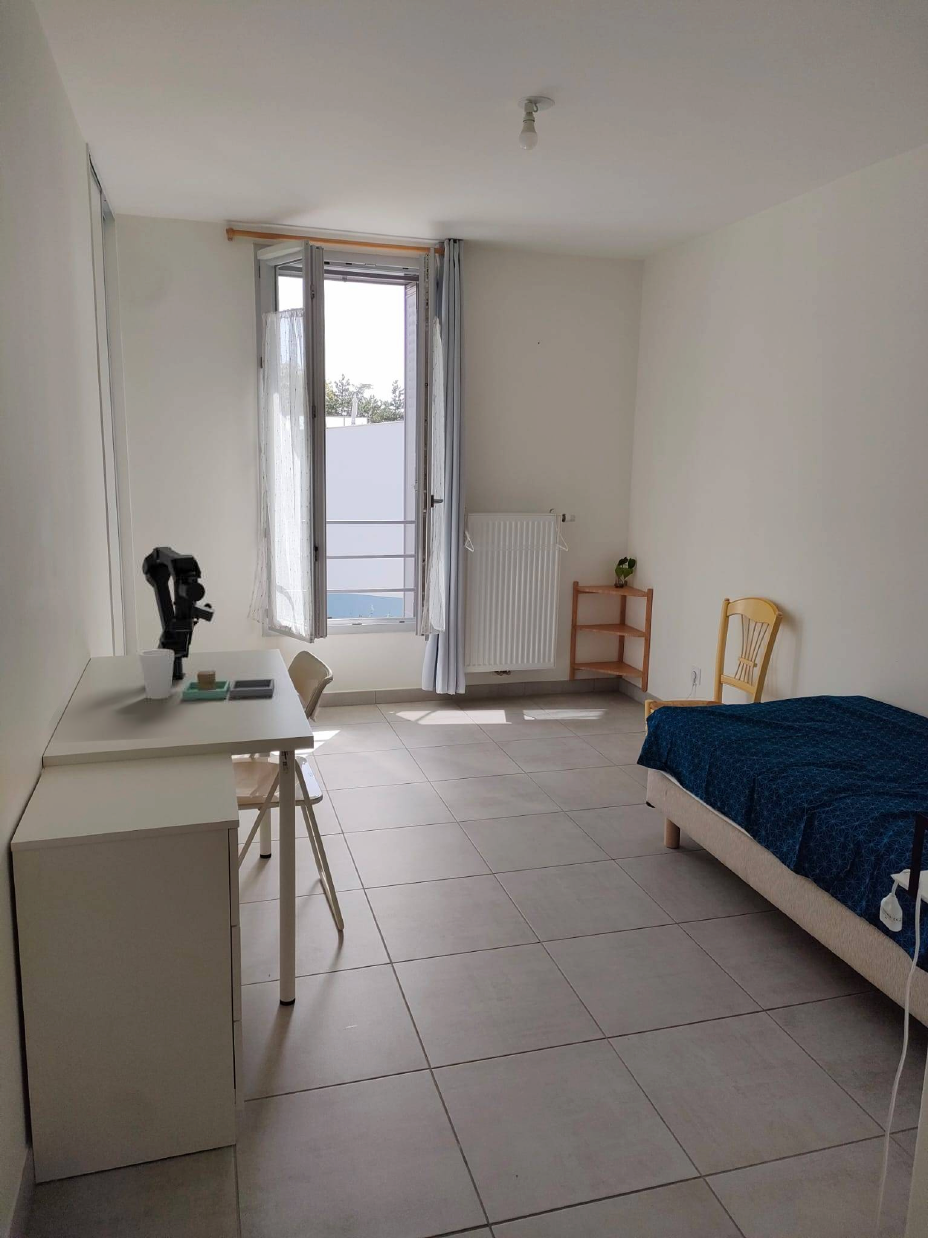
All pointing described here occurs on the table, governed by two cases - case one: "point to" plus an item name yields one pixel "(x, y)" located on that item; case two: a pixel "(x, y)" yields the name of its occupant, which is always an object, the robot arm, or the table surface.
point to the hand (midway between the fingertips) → (186, 648)
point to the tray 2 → (252, 688)
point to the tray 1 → (206, 691)
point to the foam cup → (157, 672)
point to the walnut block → (206, 680)
